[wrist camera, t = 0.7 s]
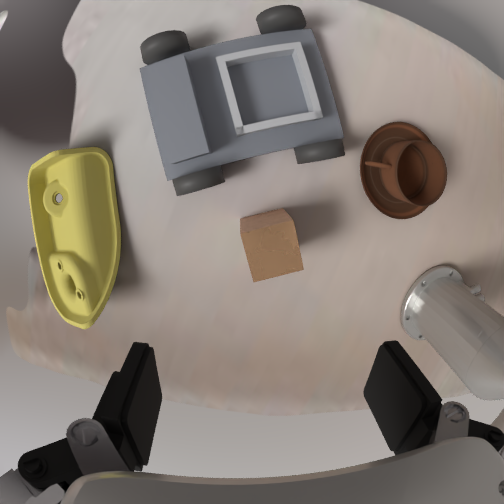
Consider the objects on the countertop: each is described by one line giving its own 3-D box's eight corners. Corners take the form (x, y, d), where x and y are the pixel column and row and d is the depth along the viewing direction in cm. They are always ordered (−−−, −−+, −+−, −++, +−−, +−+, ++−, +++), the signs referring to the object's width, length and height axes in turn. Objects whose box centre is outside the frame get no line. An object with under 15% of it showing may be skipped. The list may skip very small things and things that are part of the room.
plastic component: (26, 168, 27) (58, 147, 23) (70, 163, 34) (111, 145, 30) (55, 317, 32) (92, 333, 28) (93, 298, 39) (137, 308, 34)
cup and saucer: (364, 225, 34) (387, 239, 28) (344, 130, 30) (365, 125, 25) (436, 205, 34) (464, 214, 28) (422, 119, 30) (450, 115, 24)
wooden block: (282, 208, 33) (293, 220, 26) (291, 248, 35) (303, 269, 28) (240, 218, 33) (240, 233, 27) (250, 258, 35) (253, 282, 28)
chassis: (304, 21, 26) (313, 2, 21) (343, 153, 31) (360, 153, 26) (141, 59, 27) (126, 45, 22) (174, 194, 32) (163, 201, 27)
